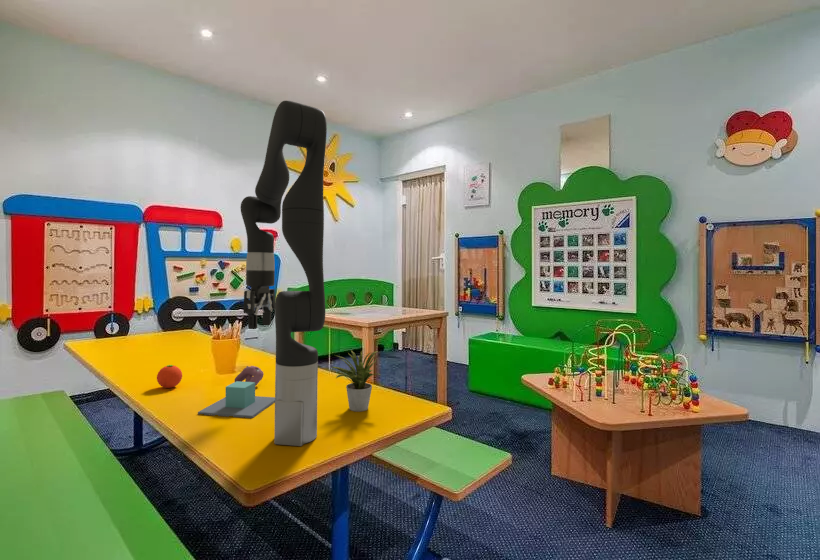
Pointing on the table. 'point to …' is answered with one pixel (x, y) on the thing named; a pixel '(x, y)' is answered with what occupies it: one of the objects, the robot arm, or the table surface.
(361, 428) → the table surface
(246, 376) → the video game controller
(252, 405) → the slate mat
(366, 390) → the house plant
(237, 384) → the teal cube
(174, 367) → the tomato
